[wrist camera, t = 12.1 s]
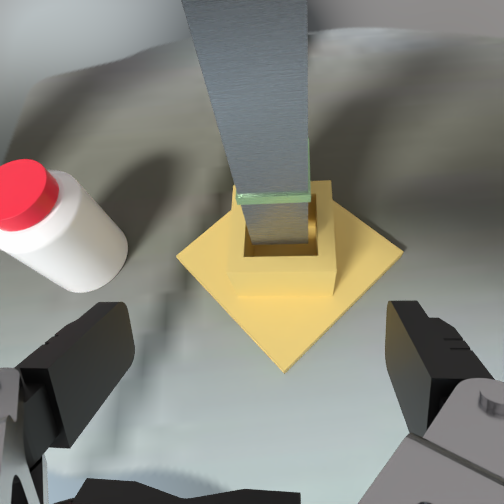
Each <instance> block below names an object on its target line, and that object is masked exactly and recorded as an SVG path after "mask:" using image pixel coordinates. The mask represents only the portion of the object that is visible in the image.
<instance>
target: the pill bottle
mask: <svg viewBox="0 0 504 504" xmlns="http://www.w3.org/2000/svg"><path fill="white" fill-rule="evenodd" d="M0 249H1V250H2V251H4V252H5V253H7V254H9V255H10V256H12V257H13V258H15V259H17V260H18V261H20V262H22V263H23V264H25V265H26V266H28V267H30V268H31V269H33V270H34V271H36V272H38V273H39V274H41V275H42V276H44V277H46V278H47V279H49V280H51V281H52V282H54V283H55V284H57V285H59V286H60V287H62V288H64V289H66V290H68V291H70V292H75V293H85V292H90V291H93V290H96V289H98V288H101V287H102V286H104V285H106V284H107V283H108V282H110V281H111V280H112V279H113V278H114V277H115V276H116V275H117V274H118V273H119V271H120V270H121V268H122V267H123V265H124V263H125V260H126V258H127V253H128V243H127V239H126V237H125V235H124V233H123V232H122V230H121V229H120V228H119V227H118V226H117V225H116V224H115V223H114V221H113V220H112V219H111V218H110V217H109V216H108V215H107V214H106V213H105V211H104V210H103V209H102V208H101V207H100V206H99V205H98V204H97V202H96V201H95V200H94V199H93V198H92V197H91V196H90V195H89V193H88V192H87V191H86V190H85V189H84V188H83V187H82V186H81V185H80V183H79V182H78V181H77V180H76V179H75V178H74V177H73V176H71V175H70V174H68V173H66V172H63V171H60V170H51V169H50V170H47V169H46V168H45V167H44V166H43V165H42V164H40V163H39V162H37V161H34V160H31V159H19V160H14V161H11V162H8V163H6V164H4V165H2V166H0Z"/></svg>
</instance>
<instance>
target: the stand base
mask: <svg viewBox="0 0 504 504" xmlns="http://www.w3.org/2000/svg"><path fill="white" fill-rule="evenodd" d="M310 185H311V202H308V244H273V245H252V242H251V239H250V235H249V232H248V228H247V225H246V221H245V218H244V215H243V211H242V208H241V205H237V202H236V199H235V196H236V187H235V185H234V186H233V197H232V209H231V211H230V212H228V213H227V214H226V215H225V216H224V217H222V218H221V219H220V220H219V221H218V222H216V223H215V224H214V225H213V226H212V227H210V228H209V229H208V230H207V231H206V232H204V233H203V234H202V235H201V236H200V237H198V238H197V239H196V240H195V241H194V242H192V243H191V244H190V245H189V246H187V247H186V248H185V249H184V250H183V251H181V252H180V253H179V254H178V255H177V256H176V257H177V258H178V260H179V261H180V262H181V263H182V264H183V265H184V266H185V267H186V269H187V270H188V271H189V272H190V273H191V274H192V275H193V276H194V277H195V278H196V279H197V280H198V281H199V283H200V284H201V285H202V286H203V287H204V288H205V289H206V290H207V291H208V292H209V293H210V294H211V295H212V296H213V298H214V299H215V300H216V301H217V302H218V303H219V304H220V305H221V306H222V307H223V308H224V309H225V310H226V312H227V313H228V314H229V315H230V316H231V317H232V318H233V319H234V320H235V321H236V322H237V323H238V324H239V325H240V327H241V328H242V329H243V330H244V331H245V332H246V333H247V334H248V335H249V336H250V337H251V338H252V339H253V341H254V342H255V343H256V344H257V345H258V346H259V347H260V348H261V349H262V350H263V351H264V352H265V353H266V354H267V356H268V357H269V358H270V359H271V360H272V361H273V362H274V363H275V364H276V365H277V366H278V367H279V368H280V370H281V371H282V372H283V373H284V374H285V373H286V372H287V371H288V370H289V369H290V368H291V367H292V366H293V365H294V364H295V363H296V362H297V361H298V360H299V359H300V358H301V357H302V356H303V355H304V354H305V353H306V352H307V351H308V350H309V349H310V348H311V347H312V346H313V345H314V344H315V343H316V342H317V341H318V340H319V339H320V338H321V337H322V336H323V335H324V334H325V333H326V332H327V331H328V330H329V329H330V328H331V327H332V326H333V325H334V324H335V323H336V322H337V321H338V320H339V319H340V318H341V317H342V316H343V315H344V314H345V313H346V312H347V311H348V310H349V309H350V308H351V307H352V306H353V305H354V304H355V303H356V302H357V301H358V300H359V299H360V298H361V297H362V296H363V295H364V294H365V293H366V292H367V291H368V290H369V289H370V288H371V287H372V286H373V285H374V284H375V283H376V282H377V281H378V280H379V279H380V278H381V277H382V276H383V275H384V274H385V273H386V271H387V270H388V269H389V268H390V267H391V266H392V265H393V264H394V263H395V262H396V261H397V260H398V259H399V258H400V257H401V256H402V254H403V251H402V250H401V249H399V248H398V247H396V246H395V245H394V244H392V243H391V242H390V241H388V240H387V239H386V238H384V237H383V236H381V235H380V234H379V233H377V232H376V231H375V230H373V229H372V228H371V227H369V226H368V225H366V224H365V223H364V222H362V221H361V220H360V219H358V218H357V217H356V216H354V215H353V214H351V213H350V212H349V211H347V210H346V209H345V208H343V207H342V206H341V205H339V204H338V203H336V202H335V201H334V200H332V187H331V180H325V181H310Z"/></svg>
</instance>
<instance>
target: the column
mask: <svg viewBox="0 0 504 504" xmlns="http://www.w3.org/2000/svg"><path fill="white" fill-rule="evenodd" d="M182 4H183V8H184V11H185V15H186V18H187V21H188V25H189V28H190V31H191V35H192V39H193V42H194V46H195V49H196V52H197V56H198V59H199V63H200V66H201V70H202V73H203V77H204V80H205V84H206V87H207V90H208V94H209V97H210V101H211V104H212V108H213V111H214V115H215V118H216V121H217V125H218V128H219V132H220V135H221V139H222V142H223V146H224V149H225V152H226V156H227V159H228V163H229V166H230V170H231V173H232V177H233V180H234V184H235V187H236V196H235V199H236V202H237V205H241V208H242V211H243V215H244V218H245V221H246V225H247V228H248V232H249V235H250V239H251V242H252V245H273V244H308V202H311V185H310V152H309V137H308V60H307V0H182Z"/></svg>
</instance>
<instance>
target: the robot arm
mask: <svg viewBox="0 0 504 504" xmlns="http://www.w3.org/2000/svg"><path fill="white" fill-rule="evenodd" d="M134 354H135V346H134V340H133V335H132V329H131V324H130V319H129V313H128V309H127V306H126V304H125V303H123V302H99V303H97V304H96V305H94V306H93V307H92V308H91V309H90V310H88V311H87V312H86V313H85V314H84V315H82V316H81V317H80V318H79V319H78V320H76V321H74V322H72V323H70V324H68V325H66V326H65V327H64V328H62V329H61V330H60V331H59V332H57V333H56V334H55V337H51V338H50V339H49V340H48V341H46V342H45V345H42V346H40V347H39V348H38V349H37V350H35V351H34V352H33V353H32V354H31V355H29V356H28V357H27V358H26V359H24V360H23V361H22V362H21V363H20V364H18V365H17V366H16V367H15V368H0V504H48V478H47V462H46V458H45V455H44V453H45V451H46V450H47V449H48V448H49V447H53V448H71V446H72V445H73V444H74V442H75V441H76V439H77V438H78V437H79V435H80V434H81V433H82V431H83V430H84V429H85V427H86V426H87V425H88V423H89V422H90V420H91V419H92V418H93V416H94V415H95V414H96V412H97V411H98V410H99V408H100V407H101V405H102V404H103V403H104V401H105V400H106V399H107V397H108V396H109V395H110V393H111V392H112V391H113V389H114V388H115V386H116V385H117V384H118V382H119V381H120V380H121V378H122V377H123V376H124V374H125V373H126V371H127V370H128V369H129V367H130V366H131V364H132V362H133V359H134ZM385 359H386V366H387V371H388V374H389V376H390V379H391V382H392V385H393V388H394V390H395V393H396V396H397V399H398V402H399V404H400V407H401V410H402V413H403V416H404V418H405V421H406V424H407V427H408V430H409V432H410V433H409V434H408V435H407V436H406V437H405V438H404V440H403V441H402V442H401V444H400V445H399V447H398V448H397V449H396V451H395V452H394V454H393V455H392V456H391V458H390V459H389V461H388V462H387V463H386V465H385V466H384V468H383V469H382V470H381V472H380V473H379V475H378V476H377V477H376V479H375V480H374V482H373V483H372V484H371V486H370V487H369V489H368V490H367V491H366V493H365V494H364V496H363V497H362V498H361V500H360V501H359V503H358V504H504V382H501V381H497V380H495V379H494V378H493V377H492V375H491V374H490V373H489V372H488V370H487V369H486V368H485V366H484V365H483V364H482V363H481V361H480V360H479V359H478V357H477V356H476V355H475V354H474V352H473V351H471V350H470V347H469V346H468V345H467V343H466V342H465V341H463V338H462V337H461V336H460V334H459V333H458V332H457V330H456V329H455V328H454V327H453V326H451V325H450V324H448V323H446V322H445V321H443V320H441V319H440V318H429V317H428V316H427V314H426V313H425V311H424V310H423V308H422V307H421V305H420V304H419V302H418V301H389V302H388V305H387V317H386V339H385ZM54 504H301V495H300V493H296V492H282V491H267V490H252V489H241V490H236V491H230V492H224V493H218V494H213V495H207V496H201V497H195V498H188V499H184V498H179V497H177V496H174V495H171V494H168V493H166V492H163V491H160V490H158V489H155V488H152V487H149V486H147V485H144V484H141V483H138V482H135V481H120V480H106V479H91V478H87V479H86V480H85V482H84V484H83V485H82V487H81V488H80V490H79V492H78V493H77V495H76V496H75V498H72V499H68V500H64V501H60V502H57V503H54Z"/></svg>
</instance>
